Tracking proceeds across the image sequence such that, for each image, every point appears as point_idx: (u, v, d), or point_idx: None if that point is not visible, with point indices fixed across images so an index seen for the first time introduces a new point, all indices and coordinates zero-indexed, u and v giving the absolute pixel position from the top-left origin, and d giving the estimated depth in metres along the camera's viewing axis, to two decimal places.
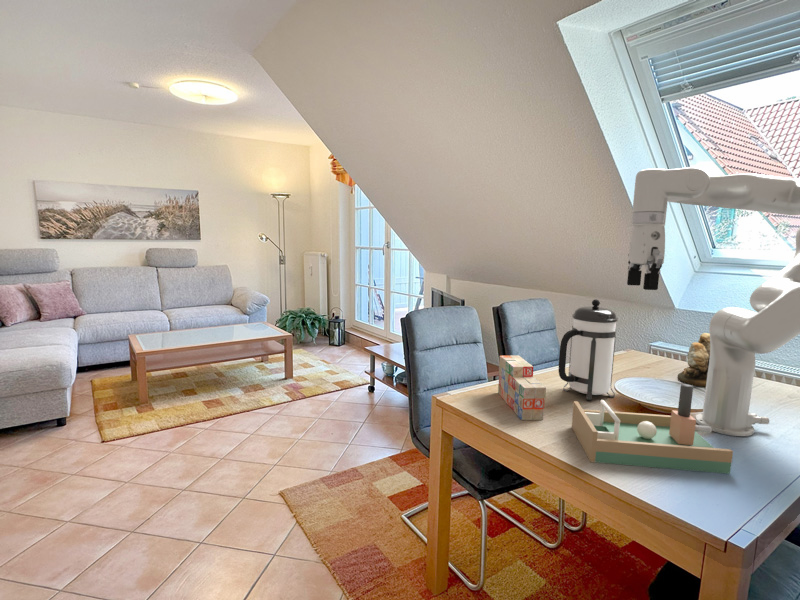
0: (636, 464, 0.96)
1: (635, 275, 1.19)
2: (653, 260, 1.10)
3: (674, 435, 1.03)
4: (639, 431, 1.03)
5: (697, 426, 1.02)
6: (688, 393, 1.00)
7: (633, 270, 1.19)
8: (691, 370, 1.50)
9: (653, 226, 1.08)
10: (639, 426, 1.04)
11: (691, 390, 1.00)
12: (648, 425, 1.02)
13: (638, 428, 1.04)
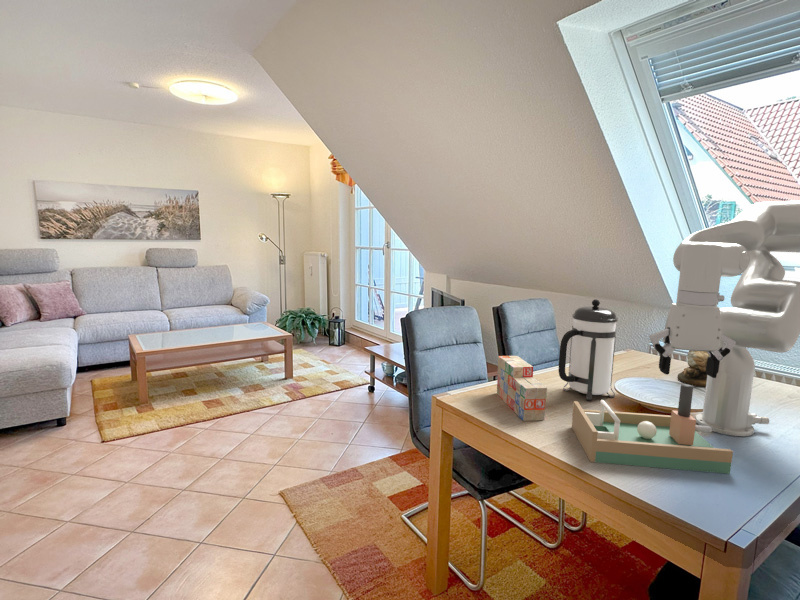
0: (636, 464, 0.96)
1: None
2: None
3: (674, 435, 1.03)
4: (639, 431, 1.03)
5: (697, 426, 1.02)
6: (688, 393, 1.00)
7: None
8: (691, 370, 1.50)
9: None
10: (639, 426, 1.04)
11: (691, 390, 1.00)
12: (648, 425, 1.02)
13: (638, 428, 1.04)
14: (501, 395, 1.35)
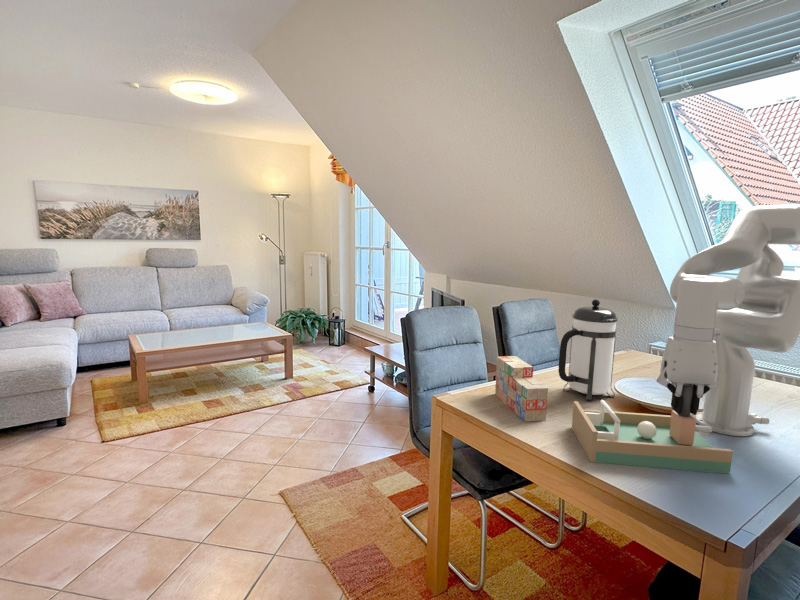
0: (636, 464, 0.96)
1: None
2: None
3: (674, 435, 1.03)
4: (639, 431, 1.03)
5: (697, 426, 1.02)
6: (688, 393, 1.00)
7: None
8: None
9: None
10: (639, 426, 1.04)
11: (691, 390, 1.00)
12: (648, 425, 1.02)
13: (638, 428, 1.04)
14: (500, 396, 1.34)
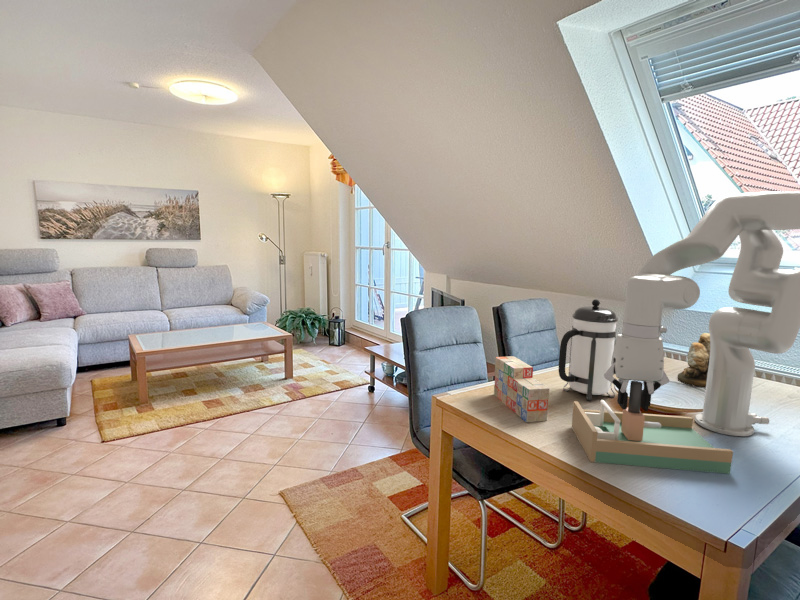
0: (636, 464, 0.96)
1: None
2: None
3: (625, 431, 1.04)
4: (598, 429, 1.05)
5: (647, 422, 1.03)
6: (637, 390, 1.02)
7: None
8: (691, 370, 1.50)
9: None
10: (601, 430, 1.05)
11: (640, 387, 1.02)
12: None
13: (599, 428, 1.05)
14: (499, 396, 1.34)
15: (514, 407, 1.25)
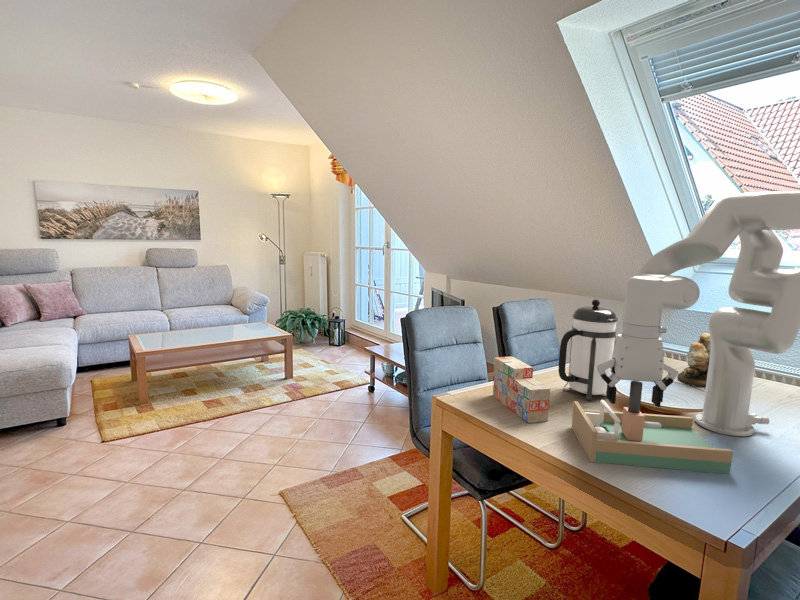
0: (636, 464, 0.96)
1: None
2: None
3: (625, 431, 1.04)
4: (604, 430, 1.05)
5: (647, 422, 1.03)
6: (637, 390, 1.02)
7: (614, 386, 1.03)
8: (691, 370, 1.50)
9: None
10: None
11: (640, 387, 1.02)
12: None
13: (606, 431, 1.05)
14: (499, 397, 1.33)
15: (514, 408, 1.24)
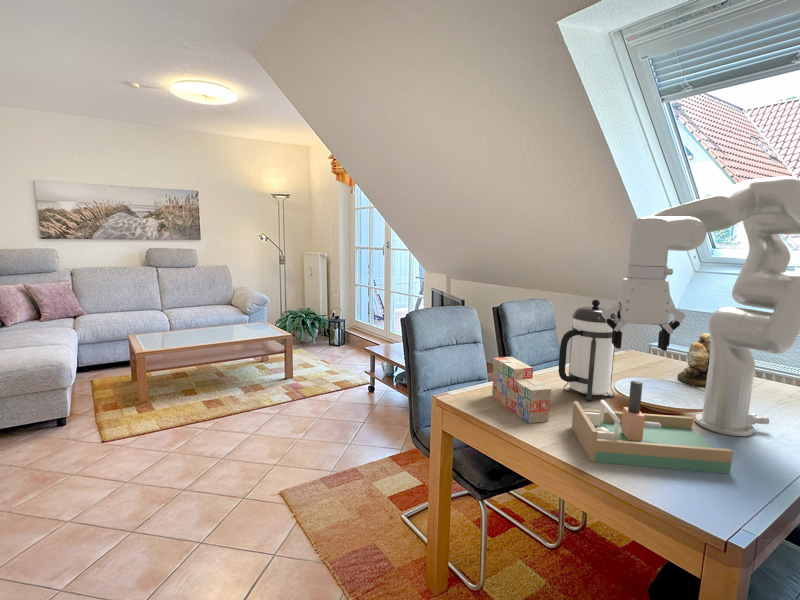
0: (636, 464, 0.96)
1: None
2: None
3: (625, 431, 1.04)
4: None
5: (647, 422, 1.03)
6: (637, 390, 1.02)
7: None
8: (691, 370, 1.50)
9: None
10: None
11: (640, 387, 1.02)
12: None
13: None
14: (498, 397, 1.33)
15: (515, 408, 1.24)
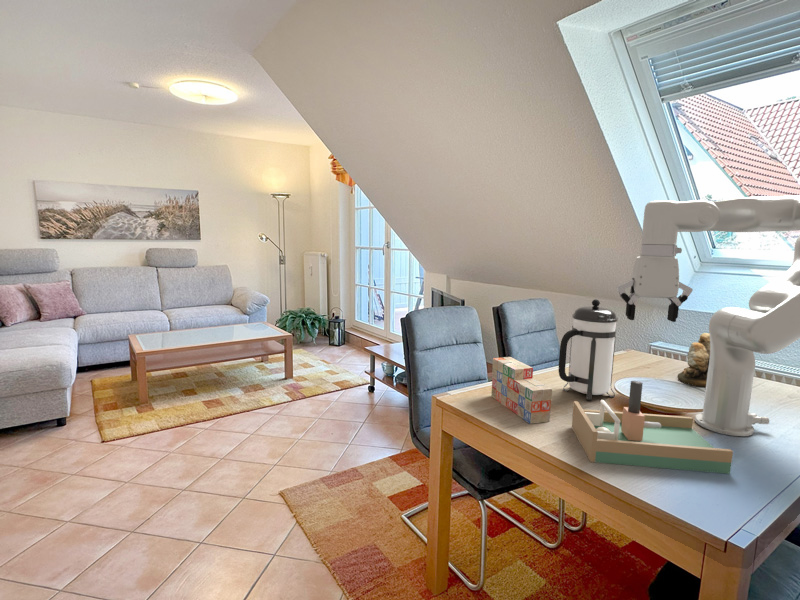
0: (636, 464, 0.96)
1: None
2: None
3: (625, 431, 1.04)
4: None
5: (647, 422, 1.03)
6: (637, 390, 1.02)
7: None
8: (691, 370, 1.50)
9: None
10: None
11: (640, 387, 1.02)
12: None
13: None
14: (498, 398, 1.33)
15: (515, 408, 1.24)
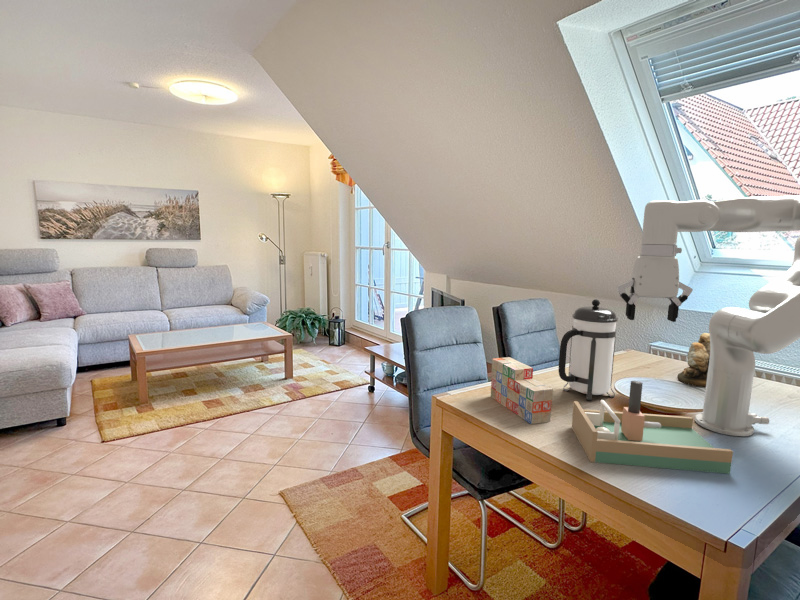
0: (636, 464, 0.96)
1: None
2: None
3: (625, 431, 1.04)
4: None
5: (647, 422, 1.03)
6: (637, 390, 1.02)
7: None
8: (691, 370, 1.50)
9: None
10: None
11: (640, 387, 1.02)
12: None
13: None
14: (498, 398, 1.32)
15: (516, 409, 1.23)
